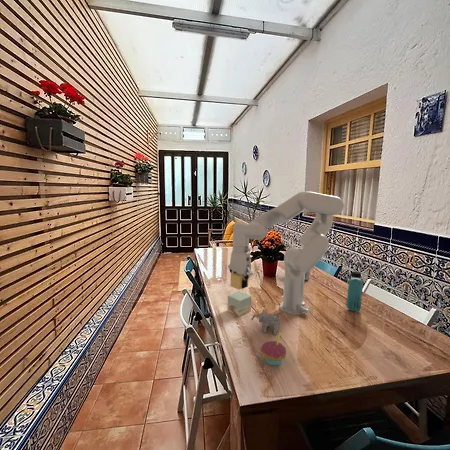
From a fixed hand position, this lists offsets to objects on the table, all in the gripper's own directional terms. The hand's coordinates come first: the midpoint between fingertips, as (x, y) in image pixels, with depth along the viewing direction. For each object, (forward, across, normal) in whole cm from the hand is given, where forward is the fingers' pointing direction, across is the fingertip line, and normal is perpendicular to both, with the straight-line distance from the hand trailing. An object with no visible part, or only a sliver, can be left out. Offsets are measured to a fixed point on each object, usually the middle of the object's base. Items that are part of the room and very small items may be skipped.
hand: (239, 285), depth 124 cm
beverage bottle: (+13, -37, -43) cm, 59 cm away
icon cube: (+13, +7, -66) cm, 68 cm away
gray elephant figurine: (+13, -20, +3) cm, 24 cm away
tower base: (+14, 0, 0) cm, 14 cm away
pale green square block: (+10, 0, 0) cm, 10 cm away
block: (+1, 0, 0) cm, 1 cm away
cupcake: (+13, -34, +18) cm, 41 cm away
